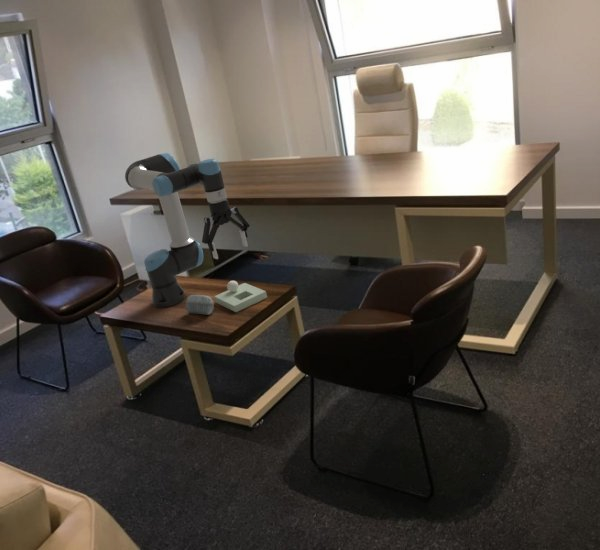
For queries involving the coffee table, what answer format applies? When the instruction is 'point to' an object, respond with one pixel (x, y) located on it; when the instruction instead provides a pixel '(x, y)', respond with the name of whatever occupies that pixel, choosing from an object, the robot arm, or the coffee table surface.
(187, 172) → the robot arm
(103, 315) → the coffee table surface
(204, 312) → the grey streaked egg
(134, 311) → the coffee table surface
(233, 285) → the ball
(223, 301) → the green board
